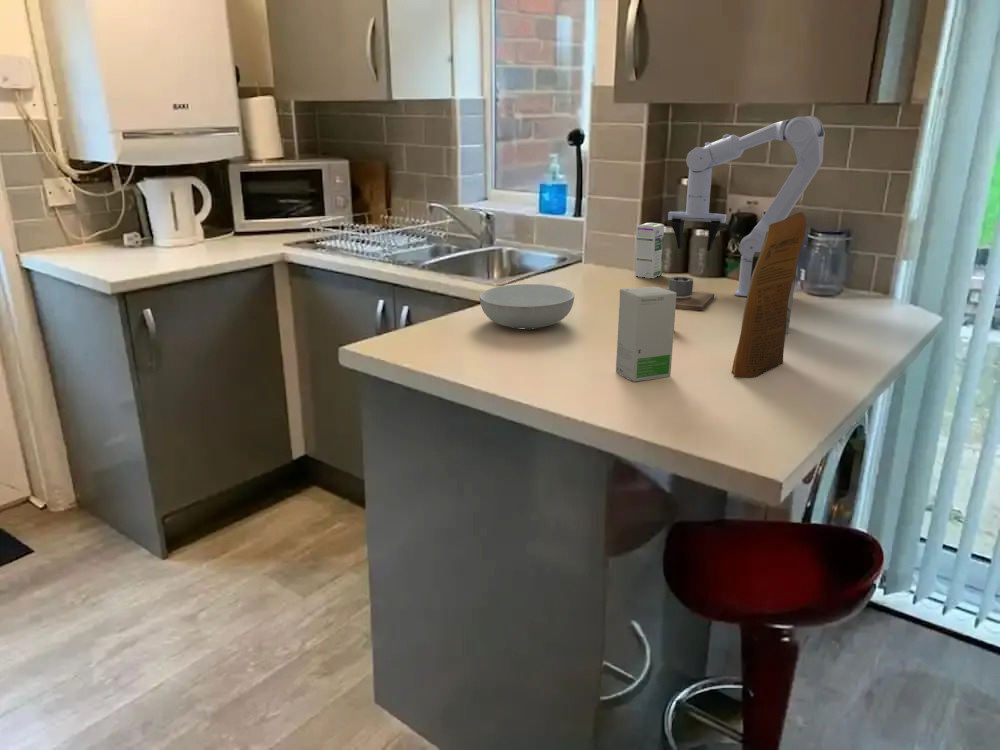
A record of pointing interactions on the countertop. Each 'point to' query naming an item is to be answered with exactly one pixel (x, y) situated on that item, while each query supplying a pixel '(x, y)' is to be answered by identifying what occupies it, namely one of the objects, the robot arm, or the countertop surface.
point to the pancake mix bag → (769, 299)
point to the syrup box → (649, 250)
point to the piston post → (682, 296)
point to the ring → (681, 285)
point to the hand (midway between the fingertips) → (694, 249)
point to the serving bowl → (527, 305)
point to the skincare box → (645, 333)
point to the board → (695, 301)
